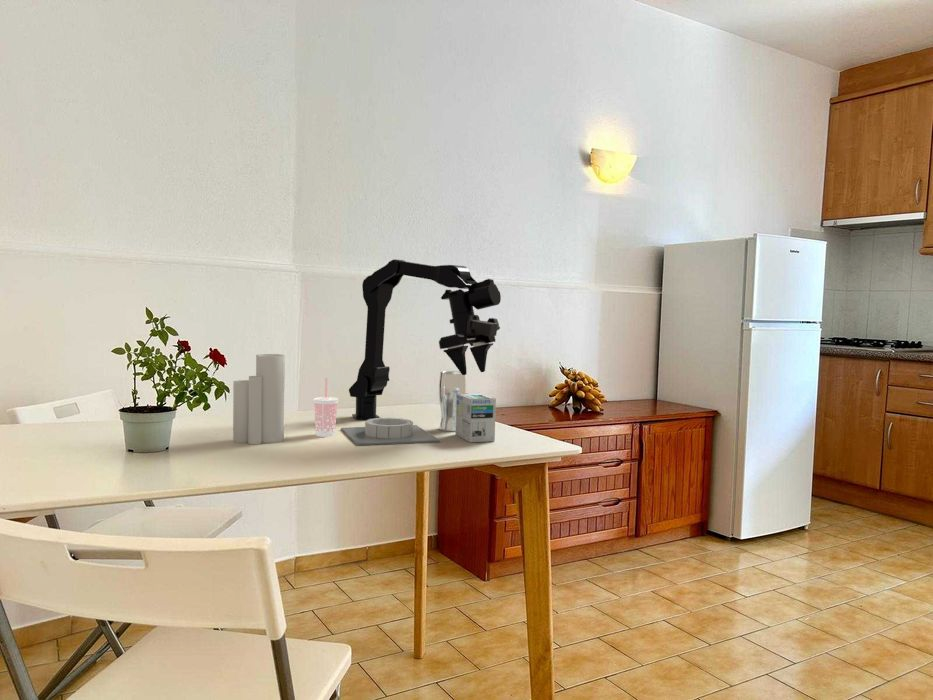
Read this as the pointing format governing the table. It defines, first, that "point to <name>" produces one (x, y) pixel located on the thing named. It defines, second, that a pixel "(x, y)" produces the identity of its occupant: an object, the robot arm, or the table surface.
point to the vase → (260, 402)
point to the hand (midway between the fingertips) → (473, 373)
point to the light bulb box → (475, 417)
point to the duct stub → (388, 432)
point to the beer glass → (449, 397)
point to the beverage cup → (325, 414)
